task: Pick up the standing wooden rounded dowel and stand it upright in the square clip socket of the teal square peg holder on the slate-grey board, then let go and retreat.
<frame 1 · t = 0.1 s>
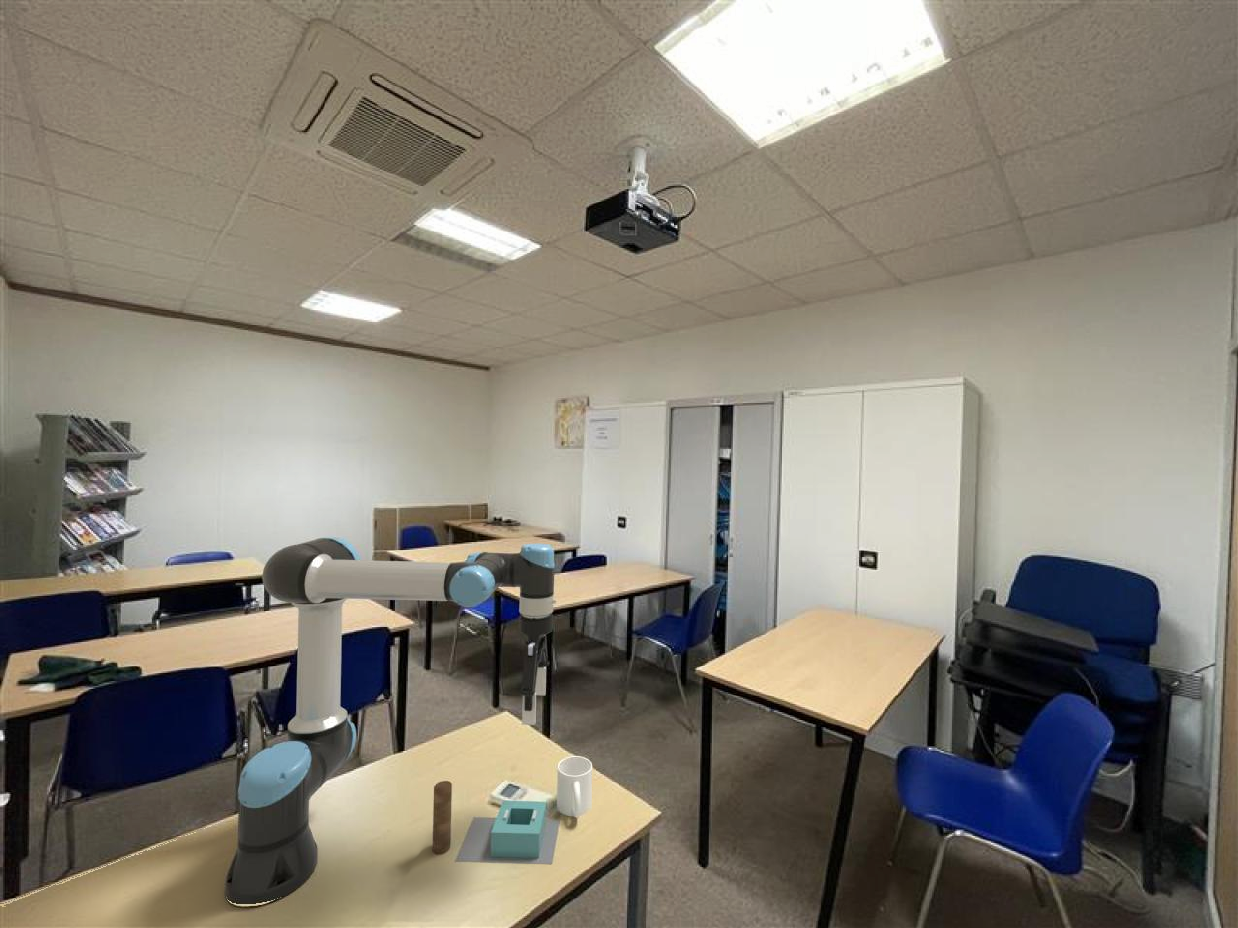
hand: (534, 708, 112), 28 cm above the table, fingers open, 13 cm apart
mug: (574, 814, 119), on the table
wooden rounded dowel: (441, 852, 106), on the table
teal square peg holder: (519, 839, 109), resting on board
board: (510, 843, 109), on the table
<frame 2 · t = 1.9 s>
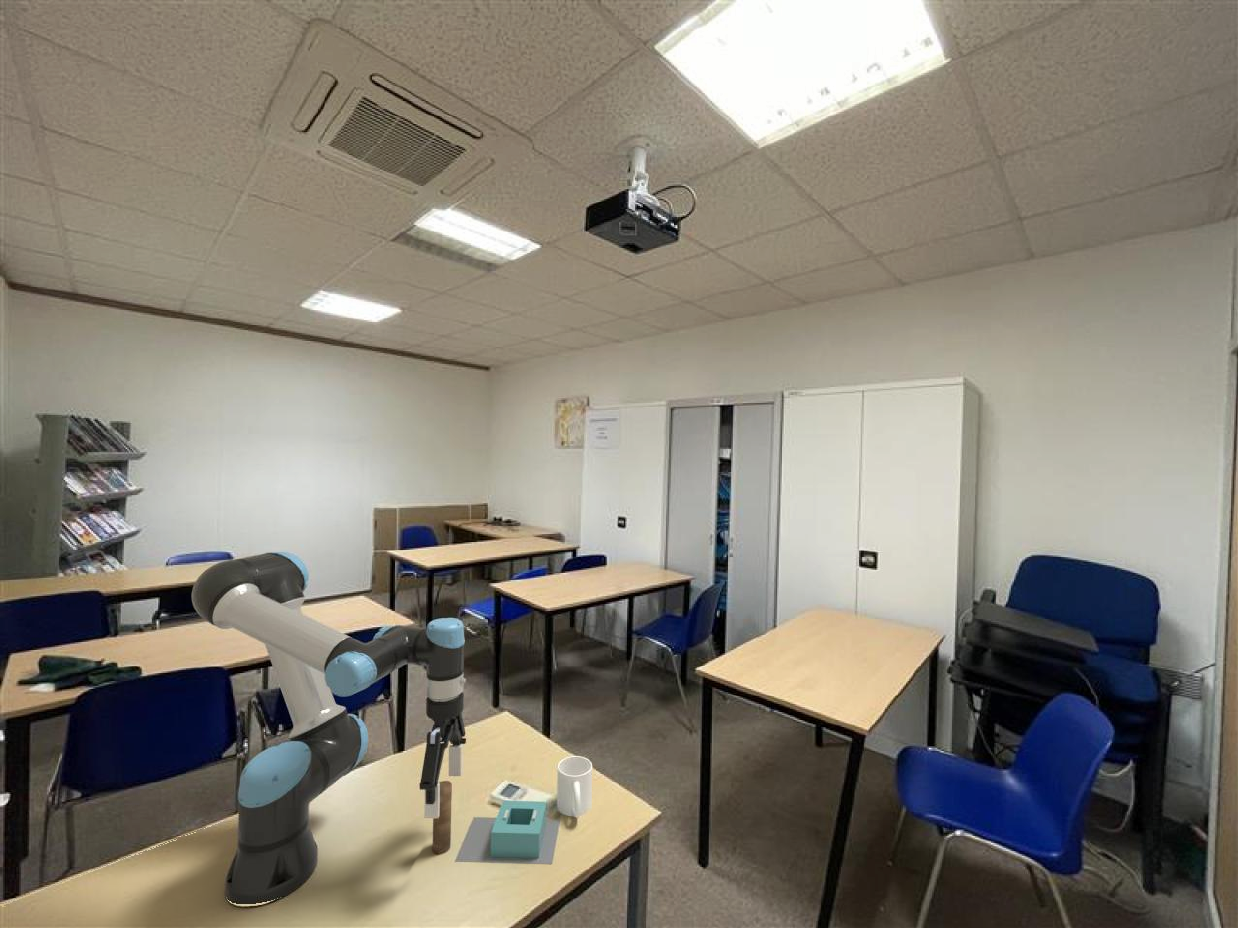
hand: (444, 794, 106), 12 cm above the table, fingers open, 13 cm apart
nothing on the table moved.
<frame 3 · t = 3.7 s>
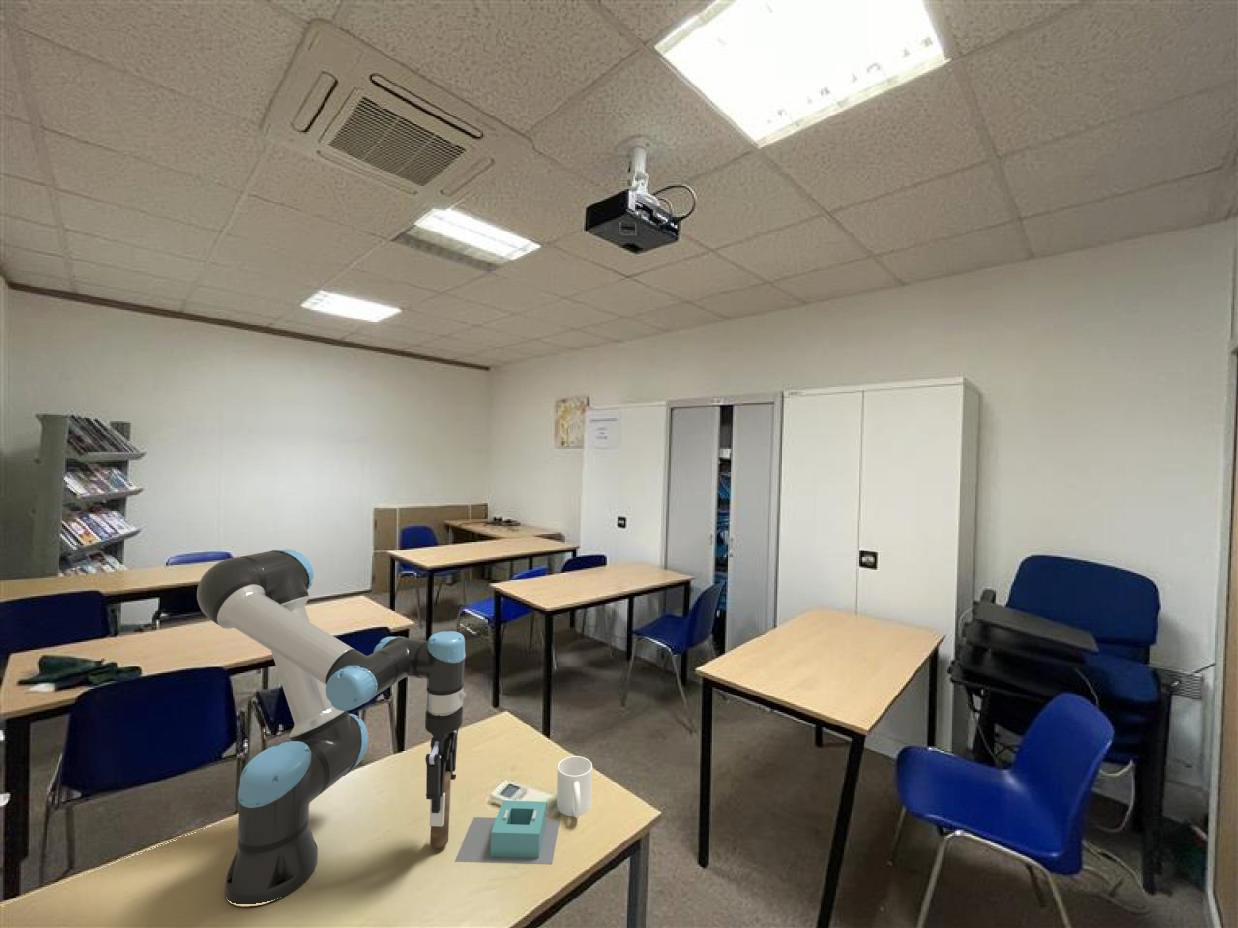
hand: (440, 817, 106), 7 cm above the table, fingers closed on wooden rounded dowel, 3 cm apart
wooden rounded dowel: (439, 841, 106), point 2 cm above the table, touching gripper
everything else where it was.
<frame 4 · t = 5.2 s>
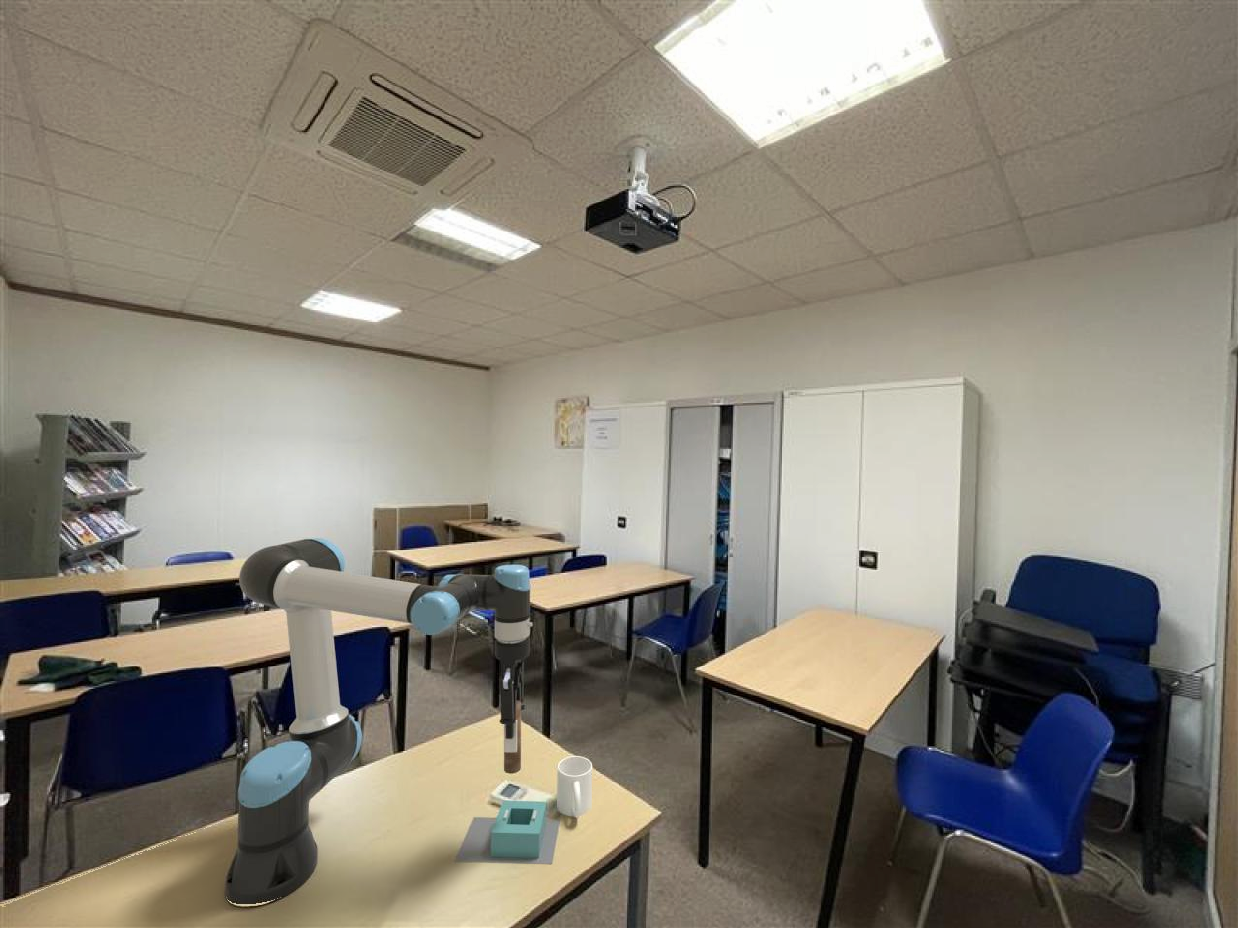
hand: (512, 746, 109), 22 cm above the table, fingers closed on wooden rounded dowel, 3 cm apart
wooden rounded dowel: (512, 768, 109), point 17 cm above the table, touching gripper
everything else where it was.
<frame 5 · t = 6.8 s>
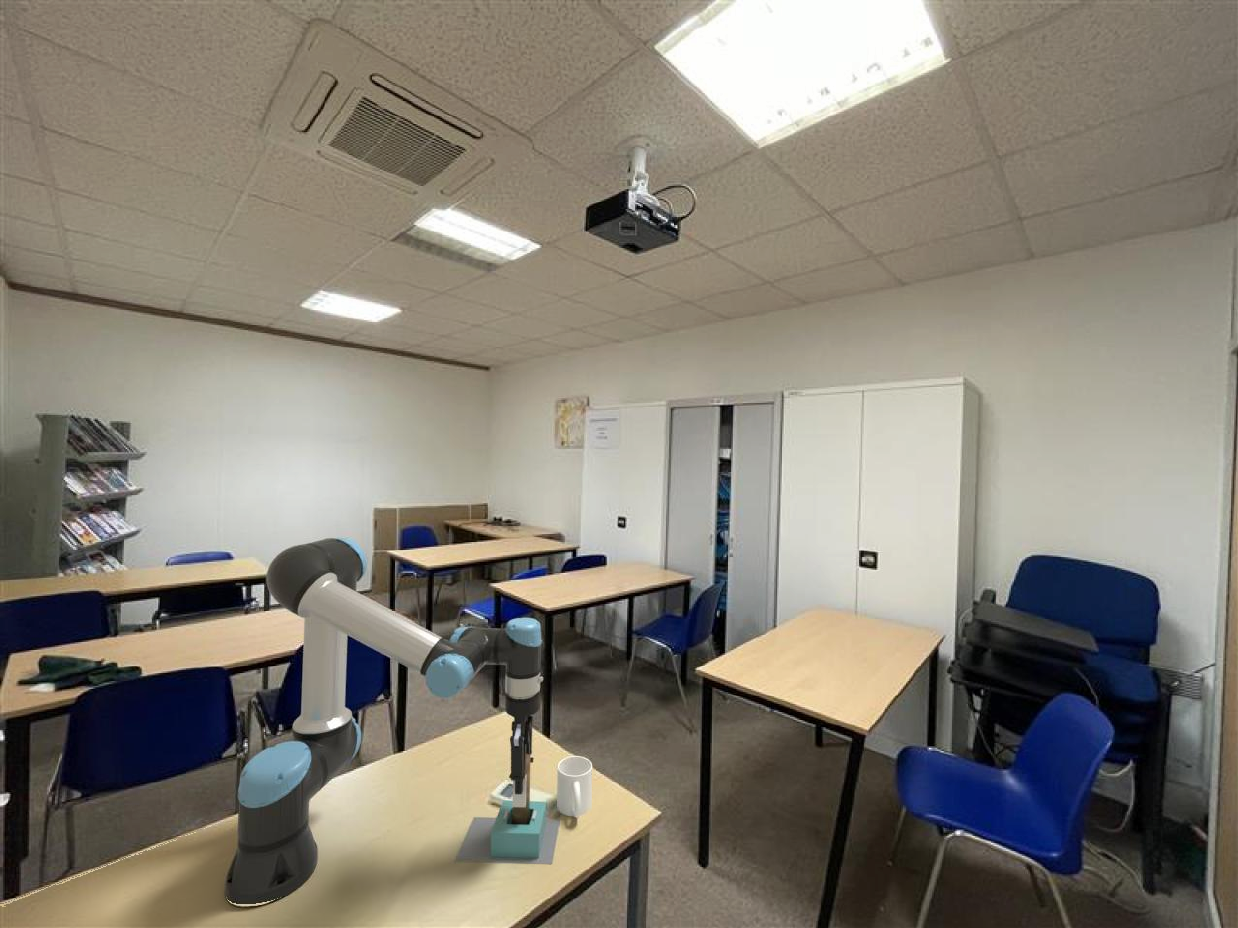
hand: (521, 799, 109), 10 cm above the table, fingers closed on wooden rounded dowel, 3 cm apart
wooden rounded dowel: (520, 821, 109), point 5 cm above the table, touching gripper
everything else where it was.
when the fingers open (8 cm above the table, at t = 7.4 s): wooden rounded dowel drops 2 cm, resting on board.
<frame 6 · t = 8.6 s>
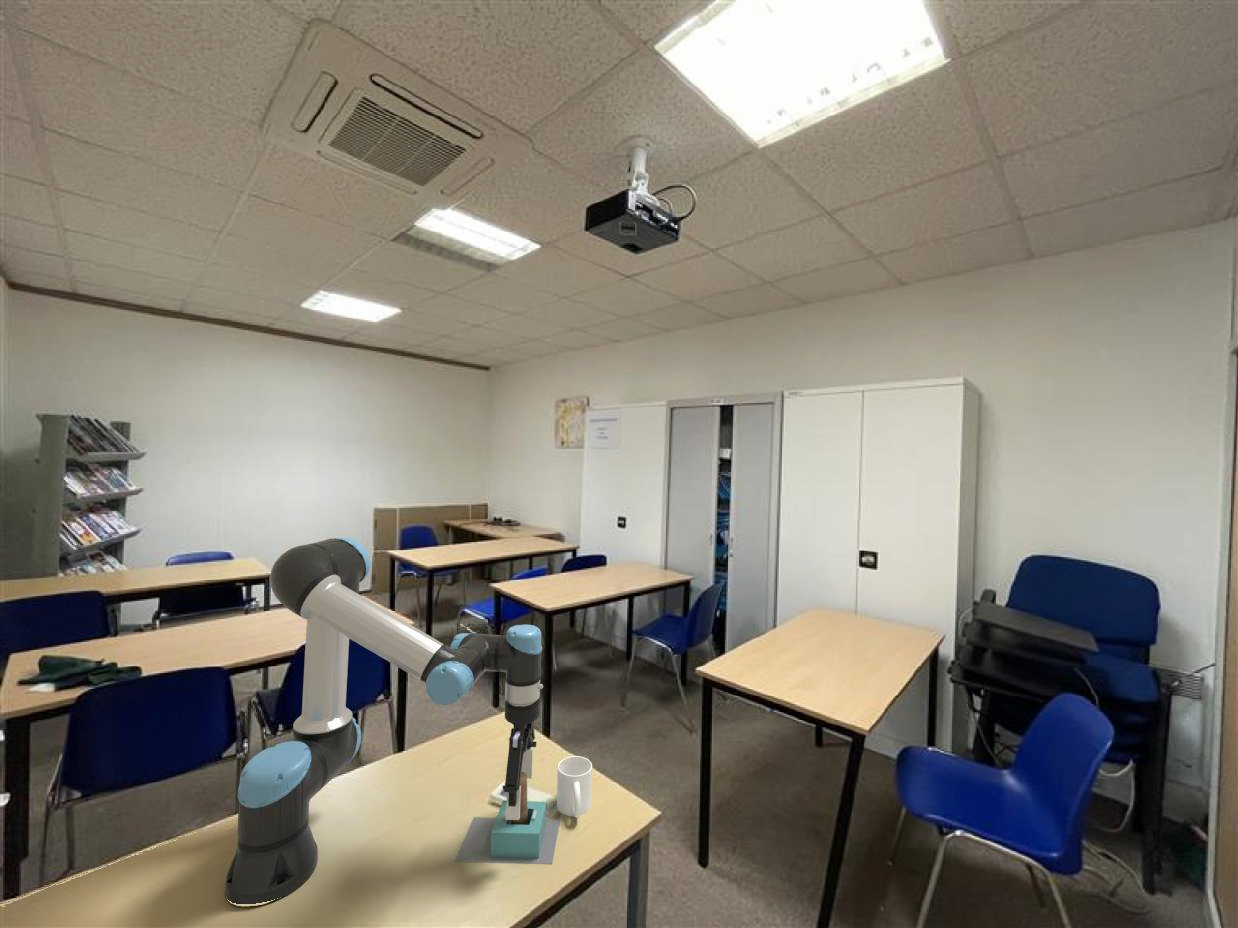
hand: (519, 796, 109), 10 cm above the table, fingers open, 13 cm apart
wooden rounded dowel: (519, 838, 109), point 1 cm above the table, touching board
everything else where it was.
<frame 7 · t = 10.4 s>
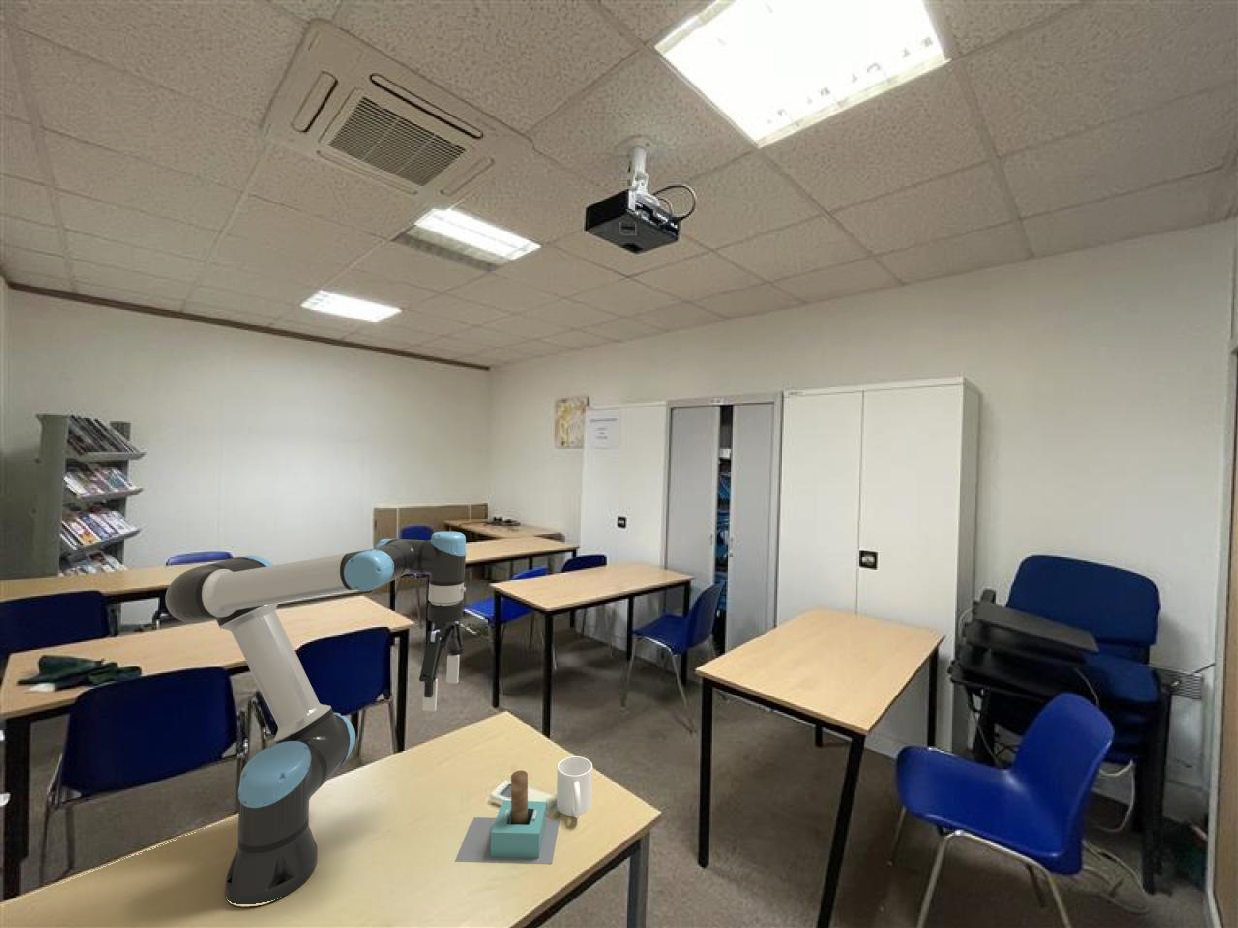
hand: (441, 695, 113), 30 cm above the table, fingers open, 13 cm apart
nothing on the table moved.
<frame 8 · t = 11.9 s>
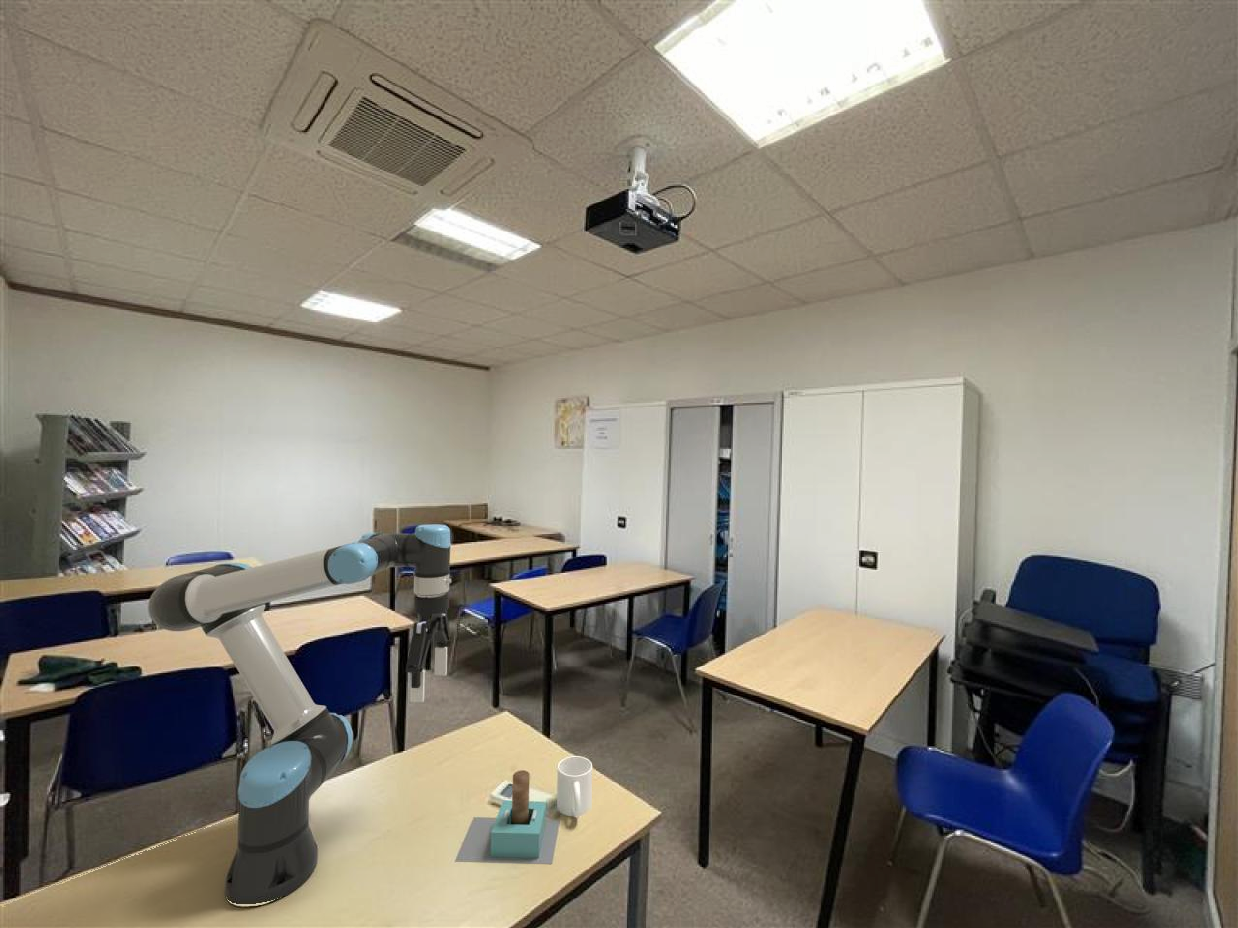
hand: (429, 687, 113), 32 cm above the table, fingers open, 13 cm apart
nothing on the table moved.
at the end: wooden rounded dowel 0.0 cm off-centre on the teal square peg holder, point 0.0 cm above the teal square peg holder's base; wooden rounded dowel tilted 1°; the gripper is holding nothing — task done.
